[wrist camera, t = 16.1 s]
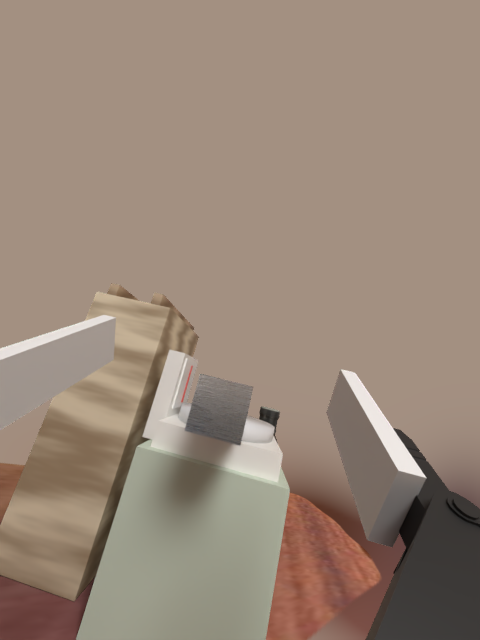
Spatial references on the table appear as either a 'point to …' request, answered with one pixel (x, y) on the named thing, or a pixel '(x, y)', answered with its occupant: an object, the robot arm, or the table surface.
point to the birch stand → (89, 450)
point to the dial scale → (169, 435)
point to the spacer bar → (219, 409)
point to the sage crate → (188, 553)
